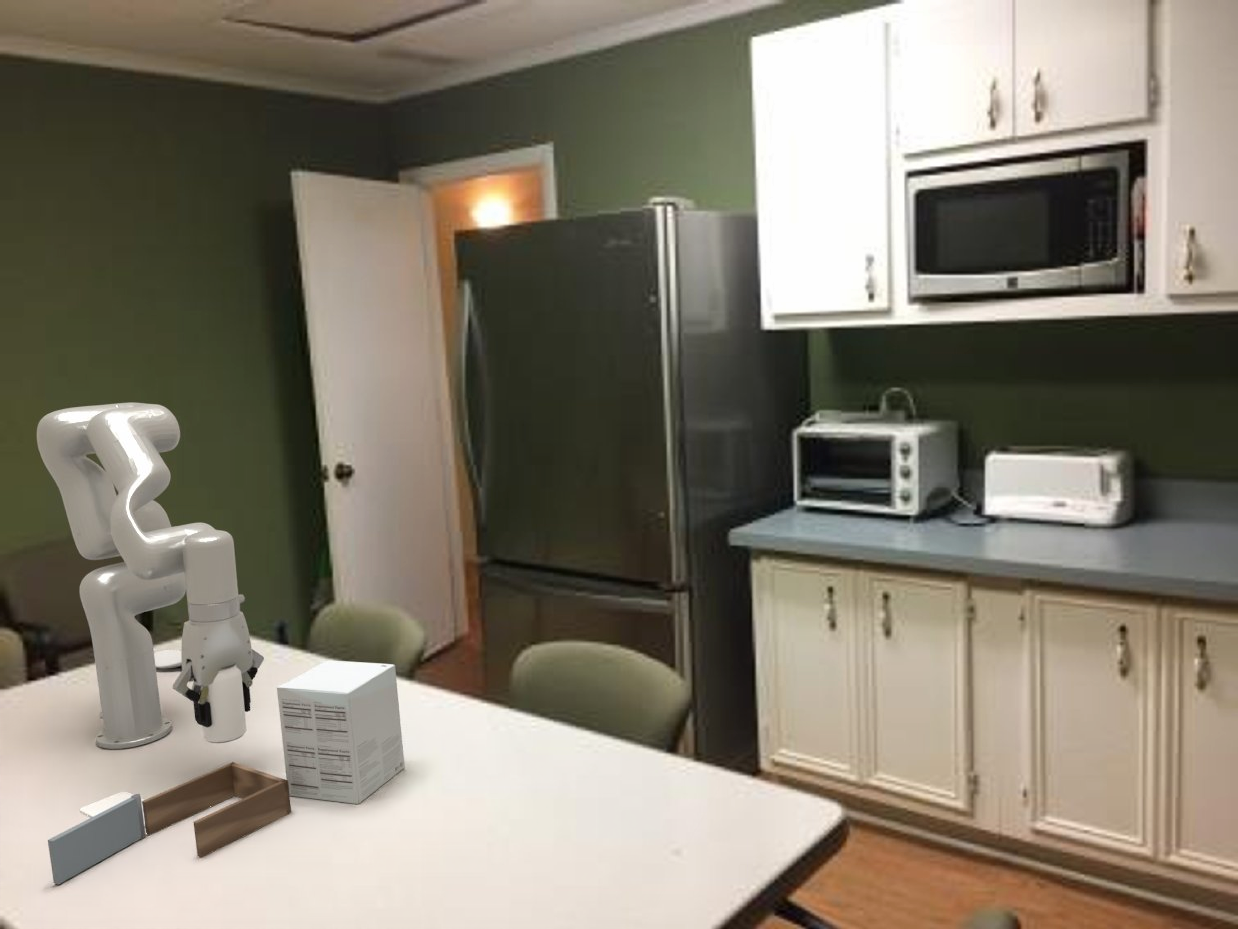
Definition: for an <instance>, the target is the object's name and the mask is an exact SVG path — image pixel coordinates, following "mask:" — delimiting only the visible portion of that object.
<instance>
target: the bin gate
mask: <svg viewBox="0 0 1238 929" xmlns="http://www.w3.org/2000/svg"><path fill="white" fill-rule="evenodd" d="M141 798H142V797H141V794H140V793H136V794H132V796H131V798H129V799H127V800H125V801H123V802H121V803H119V804H117V805H115V806H113V807H111V808H109V809H107V810H105V811H103V812H101V813H99V814H97V815H95V816H94V817H92V818H91V817H89V818H88V819H86V820H83V821H82V822H80V823H77V824H75V825H74V826H72V827H70V828H68V829H66V830H64V831H62V832H60V833H59V834H57V835H54V836H53V837H50V838H49V839H47V845H48V851H49V859H50V866H51V873H52V881H53V883H54V884H57V885H60V884H62V883H64V882H65V881H67V880H69V879H71V878H73V877H74V876H77V875H78V874H79V873H82V872H83V871H85V870H87V869H88V868H91V867H92V866H94V865H96V864H98V863H99V862H101V861H103V860H105V859H106V858H108V857H110V856H111V855H114V854H115V853H117V852H119V851H121V850H122V849H124V848H126V847H128V846H130V845H132V844H134V843H135V842H137V841H139V840H142V839H144V838H145V837H146V835H147V834H146V829H145V826H144V818H143V811H142V803H141Z"/></svg>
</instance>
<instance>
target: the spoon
mask: <svg viewBox="0 0 1238 929" xmlns="http://www.w3.org/2000/svg"><path fill="white" fill-rule="evenodd" d="M154 658H155V666H156V669H158V668H159V669H174V668H178V667H179V668H180V667H182V659H181V650H178V649H165V650H164V649H163V650H159V651H155V652H154Z"/></svg>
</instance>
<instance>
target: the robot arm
mask: <svg viewBox="0 0 1238 929" xmlns="http://www.w3.org/2000/svg"><path fill="white" fill-rule="evenodd" d="M180 439H181V431H180V425H179V422H178V420H177V418H176V416H175V415H174V414H173V413H172V412H171V410H169V408H167V407H166V406H163V405H161V404H156V403H155V404H154V403H144V402H119V403H109V404H98V405H96V404H95V405H87V406H86V405H85V406H76V407H68V408H63V409H59V410H54V411H52V412H50V413H47V414H46V415H44V416H43V417H42V418H41V419H40V420H39V422H38V423H37V428H36V442H37V448H38V451H39V453H40V458H41V459H42V462H43V464H44V466H45V467H46V469H47V471H48V472H49V474H50V476H51V477H52V478H53V481H54V482H55V484H56V486H57V487H58V489H59V493H60V495H61V498H62V502H63V507H64V510H65V512H66V517H67V522H68V523H69V527H70V530H71V534H72V538H73V541H74V543H75V546H76V549H77V550H78V553H79V555H81V556H82V557H83V558H84V559H86V560H90V561H98V560H104V559H106V560H107V559H112V558H115V557H121V558H122V559H123V561H122V562H118V563H114V564H109V565H105V566H102V567H99V568H96V569H94V570H92V571H90V572H89V573H87V574H86V575H85V576H84V577H83V578H82V579H81V582H80V585H79V598H80V601H81V604H82V607H83V610H84V612H85V616H86V619H87V623H88V627H89V631H90V636H91V643H92V647H93V648H92V650H93V656H94V662H95V663H94V664H95V670H96V676H97V684H98V685H97V687H98V693H99V700H100V708H101V712H100V713H99V716H98V717H99V719H101V720H102V723H103V729H102V730H100V731H99V732H98V733H97V734H96V735H95V744H96V745H97V746H98V747H100V748H102V749H109V750H110V749H111V750H117V749H118V750H119V749H121V750H122V749H129V748H134V747H139V746H143V745H146V744H150V743H153V742H155V741H157V740H160V739H162V738H164V737H165V736H167V735H168V734H169V733H170V732H172V729H173V721H172V720H171V719H170V718H168V717H165V716H163V714H162V706H161V701H160V700H161V699H160V692H159V691H160V690H159V685H158V684H159V683H158V676H157V675H158V674H157V667H156V666H155V658H154V653H155V650H154V644H153V638H152V635H151V633H150V631H148V629H147V628H146V627H145V626H144V625H143V624H141V622H139V620H137V619H136V617H135V616H137V615H140V614H142V613H144V612H149V611H153V610H156V609H157V610H158V609H160V608H164V607H168V606H172V605H174V604H177V603H179V602H180V601H181V600H182V599H183V598H184V596H185V595H186V601H187V611H188V614H187V615H188V620H187V621H185V622H184V623H183V628H182V629H183V630H182V636H181V650H180V651H181V659H182V666H181V672H180V674H178V677H177V678H176V679H175V681H174V682H173V684H172V686H171V687H172V689H173V690H175V691H176V692H177V693H179V694H181V695H182V696H184V698H187V699H189V700H190V701H191V702H192V703H193V713H194V719H195V721H196V723H197V724H198V725H200V726H201V727H203V726H205V727H210V726H211V725H212V719H211V708H210V703H209V702H206V699H207V696H208V692H209V686H208V685H210V684H212V683H213V681H214V679H215V677H216V676H217V674H218V672H219V671H218V670H221V669H226V668H229V667H231V666H233V665H235V664H237V665H236V667H237V668H238V669H239V670H240V671H241V675H242V685H243V696H244V707H245V713H248V712H250V711H251V702H252V701H251V700H252V699H251V692H250V688H251V687H252V685H253V681H254V678H255V677H256V675H257V674H258V671H259V668H260V667H261V665H262V663H263V662H264V661H265V658H264V656H263V655H262V654H260V653H259V652H257V651H256V650H255V649H253V648H252V642H251V636H250V632H249V628H248V624H247V620H246V617H245V615H244V613H243V611H241V604H242V603H244V602H245V601H246V598H245V596H244V594H242V593H241V594H239V588H238V578H237V576H238V575H237V564H236V555H235V543H234V542H235V541H234V538H233V536H232V534H230V533H229V532H228V531H226V530H222V529H221V530H219V529H215V527H213V526H212V525H210V524H208V523H205V522H194V523H193V522H192V523H187V524H181V525H177V526H176V525H175V526H172V524H171V522H170V519H169V517H168V514H167V512H166V511H165V509H164V508H163V507H162V505H161V504H160V503H158V501H156V500H155V499H156V498H158V497H159V496H160V495H161V494H162V493H163V492H164V491H165V490H166V489H167V488H168V486H169V484H170V481H171V472H170V469H169V468H168V466H167V465H166V463H165V461H164V460H163V458H162V457H161V455H160V453H164V452H165V453H166V452H169V451H172V450H174V449H175V448H176V447H177V446H178V444H179V442H180ZM93 454H95V455H96V456H97V458H98V460H99V462H100V463H101V466H102V467H103V468H102V467H101V466H100V465H99V464H98V463H96V462H95V461H93V460H92V459H90V458H89V457H87V455H93ZM116 491H117V492H118V494H117V493H116ZM191 682H193V683H192V686H191V688H190V687H189V686H188V683H191ZM200 686H201V689H200ZM199 692H200V693H199Z"/></svg>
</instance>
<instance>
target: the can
mask: <svg viewBox="0 0 1238 929" xmlns="http://www.w3.org/2000/svg"><path fill="white" fill-rule="evenodd" d="M236 665H237V664H235V665H233V666H231V667H229V668H226V669H221V670H218V671H219V672H218V674H217V676H216V677H215V679H214V681H213V683H212V684H210V685H208V686H209V692H208V696H207V699H206V702H209V703H210V708H211V719H212V725H211V726H210V727H205V726H202V734H203V738H204V739H205V741H207V742H208V743H211V744H225V743H230V742H233V741H236V740H238V739H240V738H242V737H243V736H244V735H245V733H246V731H247V720H246V712H245V707H244V696H243V685H242V675H241V671H240V670H239V669H238V668H237V667H236ZM200 689H201V686H200ZM199 693H200V692H199Z"/></svg>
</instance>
